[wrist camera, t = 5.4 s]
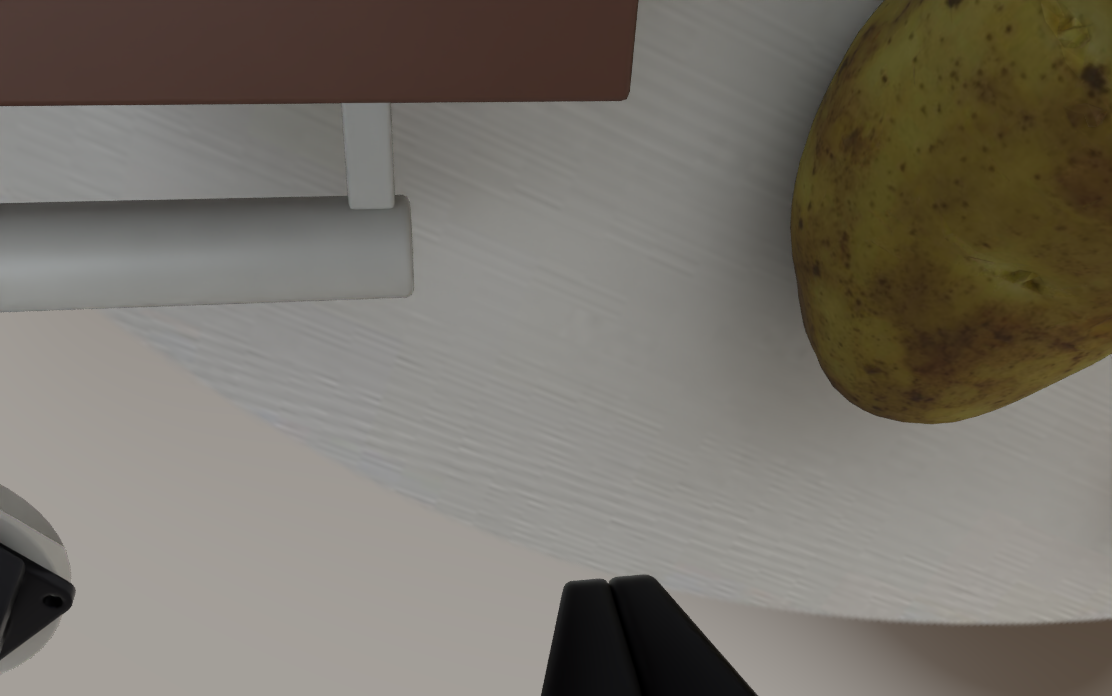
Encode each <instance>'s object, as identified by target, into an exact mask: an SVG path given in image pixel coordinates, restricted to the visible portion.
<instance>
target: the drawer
mask: <svg viewBox="0 0 1112 696" xmlns="http://www.w3.org/2000/svg"><path fill="white" fill-rule="evenodd" d="M637 9H638V0H0V106H67V105H188V104H310V103H341V107H342V121H343V135H344V149H345V163H346V177H347V191H348V196H319V197H272V198H225V199H178V200H132V201H85V202H38V203H0V312H18V311H46V310H75V309H102V308H130V307H158V306H185V305H213V304H241V303H269V302H296V301H324V300H352V299H379V298H407V297H409V296H411V295H412V293H413V291H414V273H413V246H412V225H411V207H410V201H409V199H408V197H407V196H404V195H395V187H394V164H393V140H392V117H391V103H431V102H553V101H622V100H625V99H627V97H628V95H629V92H630V83H631V73H632V62H633V52H634V41H635V31H636V20H637Z"/></svg>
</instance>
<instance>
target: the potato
mask: <svg viewBox="0 0 1112 696" xmlns="http://www.w3.org/2000/svg"><path fill="white" fill-rule="evenodd" d="M790 229H791V243H792V257H793V263H794V268H795V274H796V279H797V287H798V296H799V302H800V307H801V313H802V318H803V323H804V327H805V331H806V334H807V336H808V338H809V341H810V343H811V346H812V348H813V350H814V352H815V353H816V356H817V358H818V361H819V364H820V366H821V368H822V370H823V371H824V373H825V375H826V376H827V378H828V379H829V381H830V382H831V384H832V386H833V387H834V388H835V389H836V390H837V391H838V392H840V393H841V394H842V395H843V396H844V397H845V398H846V399H847V400H848V401H849V402H851V403H852V404H854V405H856V406H857V407H859V408H861V409H862V410H864V411H867V412H869V413H871V414H873V415H876V416H879V417H883V418H887V419H891V420H896V421H900V422H909V423H923V424H939V423H950V422H957V421H961V420H964V419H968V418H972V417H976V416H979V415H982V414H985V413H988V412H991V411H994V410H996V409H999V408H1001V407H1004V406H1006V405H1009V404H1011V403H1013V402H1016V401H1018V400H1020V399H1022V398H1024V397H1027V396H1029V395H1031V394H1033V393H1035V392H1037V391H1039V390H1041V389H1043V388H1045V387H1047V386H1049V385H1051V384H1053V383H1055V382H1057V381H1060V380H1062V379H1064V378H1066V377H1068V376H1070V375H1072V374H1074V373H1076V372H1078V371H1080V370H1082V369H1084V368H1086V367H1088V366H1090V365H1092V364H1094V363H1096V362H1098V361H1100V360H1101V359H1103V358H1105V357H1107V356H1108V355H1110V354H1112V0H884V1H883V3H882V4H881V5H880V6H879V7H878V8H877V9H876V11H875V12H874V13H873V14H872V16H871V17H870V18H869V19H868V21H867V22H866V23H865V25H864V26H863V27H862V29H861V30H860V31H859V32H858V34H857V36H856V37H855V39H854V41H853V42H852V44H851V46H850V48H849V49H848V51H847V53H846V54H845V56H844V58H843V60H842V62H841V64H840V66H839V67H838V69H837V71H836V73H835V75H834V77H833V79H832V81H831V83H830V85H829V87H828V89H827V92H826V94H825V96H824V98H823V100H822V102H821V105H820V107H819V109H818V111H817V114H816V116H815V118H814V120H813V123H812V126H811V129H810V132H809V135H808V138H807V141H806V144H805V147H804V150H803V153H802V156H801V160H800V163H799V168H798V172H797V177H796V181H795V187H794V193H793V200H792V209H791V226H790Z"/></svg>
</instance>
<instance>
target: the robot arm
mask: <svg viewBox="0 0 1112 696" xmlns="http://www.w3.org/2000/svg"><path fill="white" fill-rule="evenodd" d="M75 591H76V590H75V588H74V586H73V585H72V584H71V583H70V582H69V581H67V580H65V579H64V578H62V577H60V576H58V575H57V574H55V573H53V572H51V571H50V570H48V569H46V568H44V567H42V566H41V565H39V564H37V563H35V562H34V561H32V560H30V559H28V558H27V557H25V556H23V555H21V554H19V553H18V552H16V551H14V550H12V549H11V548H9V547H7V546H5V545H4V544H2V543H0V660H1V659H3V658H4V657H6V656H7V655H8V654H10V653H11V652H12V651H14V650H15V649H16V648H18V647H19V646H20V645H22V644H23V643H24V642H26V641H27V640H28V639H30V638H31V637H33V636H34V635H35V634H37V633H38V632H39V631H41V630H42V629H43V628H45V627H46V626H47V625H49V624H50V623H51V622H53V621H54V620H55V619H57V618H58V617H60V616H61V615H62V614H64V613H65V612H66V611H68V610H69V609H70V607H71V606H72V603H73V600H74V596H75ZM51 595H55V596H58V597H54V596H51ZM541 696H758V695H757V694H756V693H755V692H754V691H753V690H752V689H751V687H750V686H749V685H748V684H747V683H746V682H745V681H744V679H743V678H742V677H741V676H740V675H739V674H738V672H737V671H736V670H735V669H734V668H733V667H732V666H731V664H730V663H729V662H728V661H727V660H726V659H725V658H724V656H723V655H722V654H721V653H720V652H719V651H718V650H717V649H716V647H715V646H714V645H713V644H712V643H711V642H710V640H708V638H707V637H706V636H705V635H704V634H703V632H702V631H701V630H700V629H699V628H698V627H697V626H696V624H695V623H694V622H693V621H692V620H691V619H690V618H689V616H688V615H687V614H686V613H685V612H684V611H683V610H682V608H681V607H680V606H679V605H678V604H677V603H676V602H675V600H674V599H673V598H672V597H671V596H670V595H669V594H668V592H667V591H666V590H665V589H664V588H663V587H662V586H661V584H660V583H659V582H658V581H657V580H656V579H655V578H654V577H652V576H650V575H633V576H622V577H615V578H612V579H611V580H610V581H609V583H607V581H606V580H604V579H590V580H579V581H570V582H568V583H566V584H565V586H564V589H563V592H562V597H561V602H560V607H559V612H558V616H557V621H556V626H555V631H554V636H553V640H552V645H551V650H550V655H549V659H548V664H547V669H546V675H545V679H544V684H543V688H542V693H541Z"/></svg>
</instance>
